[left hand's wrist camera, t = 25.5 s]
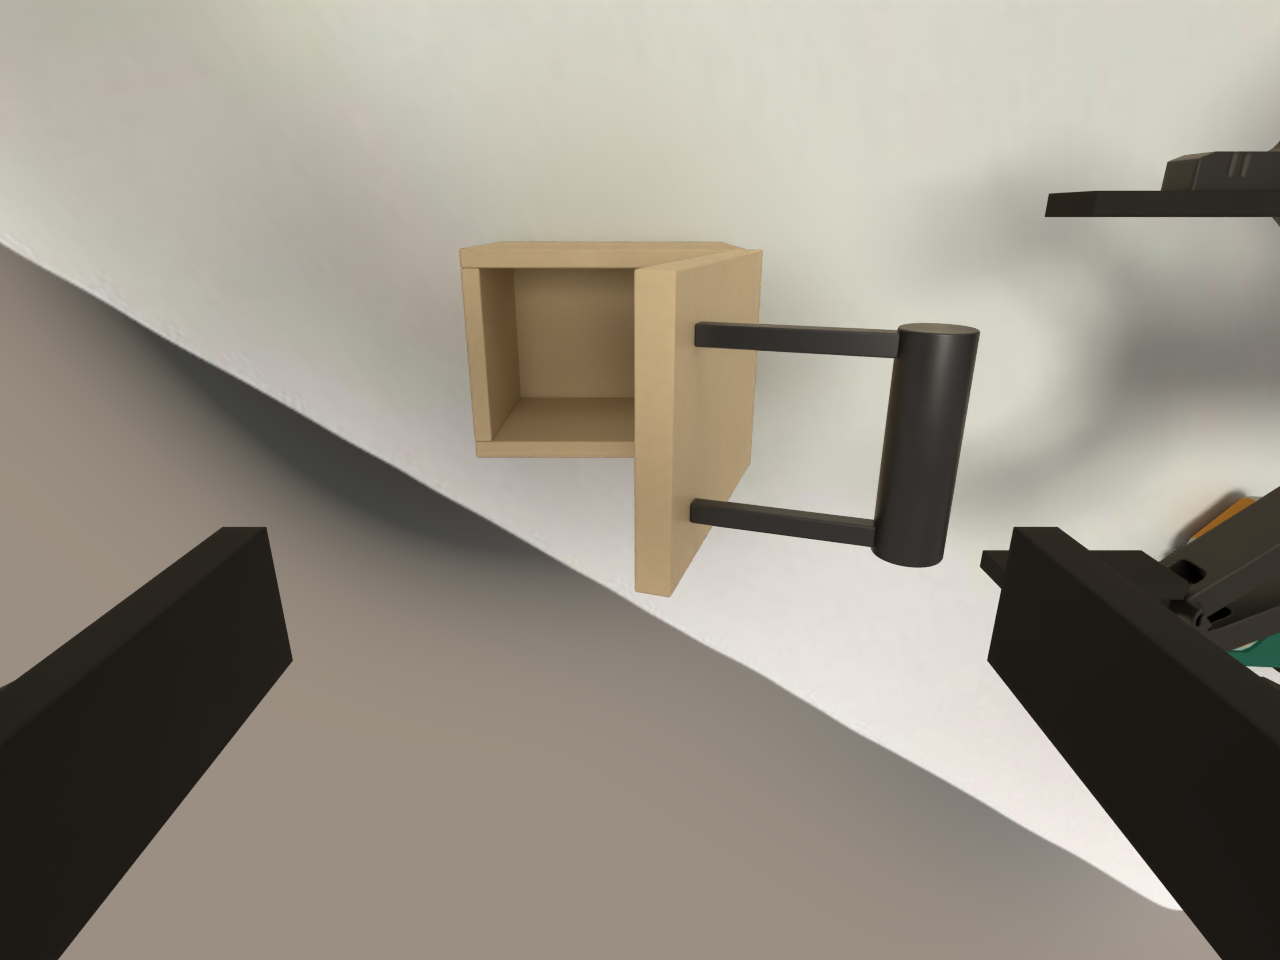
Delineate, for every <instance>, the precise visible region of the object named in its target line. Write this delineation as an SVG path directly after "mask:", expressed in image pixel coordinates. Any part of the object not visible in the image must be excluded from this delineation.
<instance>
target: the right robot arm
mask: <svg viewBox="0 0 1280 960" xmlns="http://www.w3.org/2000/svg"><path fill="white" fill-rule="evenodd" d="M1045 217H1272V218H1273V219H1274V220H1275V221H1276V222H1277V224H1278V225H1279V226H1280V141H1279V143H1278V144H1277V145H1276V146H1275V147H1274V148H1273V149H1271V150H1269V151H1268V152H1209V153H1200V154H1191V155H1184V156H1181V157H1179V158H1176V159H1174V160H1171V161H1169V162H1167V167H1166V171H1165V175H1164V179H1163V184H1162V188H1161V191H1086V192H1069V193H1053V194H1049V196H1048V202H1047V207H1046V213H1045ZM1089 551H1091V552H1092V553H1093V554H1095V555H1096V556H1097V557H1099V558H1100V559H1101V560H1103V561H1104V562H1105V563H1107V564H1108V565H1109V566H1111V567H1112V568H1114V569H1115V570H1116V571H1118V572H1119V573H1120V574H1122V575H1123V576H1124V577H1126V578H1127V579H1128V580H1130V581H1131V582H1132V583H1134V584H1135V585H1137V586H1138V587H1139V588H1141V589H1142V590H1143V591H1145V592H1146V593H1147V594H1149V595H1150V596H1151V597H1153V598H1154V599H1155V600H1157V601H1158V602H1160V603H1161V604H1162V605H1164V606H1165V607H1166V608H1168V609H1169V610H1170V611H1172V612H1173V613H1174V614H1176V615H1177V616H1178V617H1180V618H1181V619H1182V620H1184V621H1185V622H1187V623H1188V624H1189V625H1191V626H1192V627H1193V628H1195V629H1196V630H1197V631H1199V632H1200V633H1201V634H1203V635H1204V636H1205V637H1207V638H1208V639H1210V640H1211V641H1212V642H1214V643H1215V644H1216V645H1218V646H1219V647H1220V648H1222V649H1223V650H1224V651H1226V652H1228V651H1231V650H1234V649H1237V648H1239V647H1242V646H1245V645H1247V644H1250V643H1253V642H1255V641H1258V640H1261V639H1263V638H1266V637H1269V636H1271V635H1274V634H1277V633H1279V632H1280V486H1279V487H1278V488H1276V489H1275V490H1273V491H1272V492H1270V493H1268V494H1267V495H1265V496H1264V497H1262V498H1260V499H1259V500H1257V501H1256V502H1254V503H1252V504H1251V505H1249V506H1248V507H1246V508H1244V509H1243V510H1241V511H1240V512H1238V513H1236V514H1235V515H1233V516H1232V517H1230V518H1228V519H1227V520H1225V521H1224V522H1222V523H1220V524H1219V525H1217V526H1216V527H1214V528H1212V529H1211V530H1209V531H1208V532H1206V533H1204V534H1203V535H1201V536H1200V537H1198V538H1196V539H1195V540H1193V541H1192V542H1190V543H1188V544H1187V545H1185V546H1184V547H1182V548H1181V549H1179V550H1177V551H1176V552H1174V553H1173V554H1171V555H1169V556H1168V557H1166V558H1165V559H1163V560H1161V561H1160V562H1158V561H1156V560H1155V559H1153V558H1152V557H1150V556H1149V555H1147V554H1146V553H1144V552H1143V551H1141V550H1089ZM1008 553H1009V550H983V553H982V558H981V564H980V567H981V568H982V569H983V570H984V571H985V572H986V574H987V575H988V576H989V577H990V578H991V579H992V580H993V581H994V582H995V583H996V584H997V585H998V586H999V587H1000V588H1001V589H1002V584H1003V579H1004V574H1005V569H1006V564H1007V559H1008ZM1188 585H1192V586H1191V587H1188Z"/></svg>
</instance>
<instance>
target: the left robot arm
mask: <svg viewBox="0 0 1280 960" xmlns="http://www.w3.org/2000/svg"><path fill="white" fill-rule="evenodd" d="M292 661H293V659H292V654H291V649H290V644H289V639H288V634H287V629H286V624H285V619H284V614H283V609H282V604H281V599H280V594H279V589H278V584H277V579H276V574H275V569H274V564H273V559H272V554H271V548H270V544H269V538H268V533H267V528H266V527H222V528H221V529H219V530H218V531H217V532H215V533H214V534H213V535H211V536H210V537H208V538H207V539H206V540H204V541H203V542H202V543H200V544H199V545H198V546H196V547H195V548H194V549H192V550H191V551H189V552H188V553H187V554H185V555H184V556H183V557H181V558H180V559H179V560H177V561H176V562H175V563H173V564H172V565H171V566H169V567H168V568H166V569H165V570H164V571H162V572H161V573H160V574H158V575H157V576H156V577H154V578H153V579H152V580H150V581H149V582H148V583H146V584H145V585H143V586H142V587H141V588H139V589H138V590H137V591H135V592H134V593H133V594H131V595H130V596H129V597H127V598H126V599H125V600H123V601H122V602H121V603H119V604H118V605H116V606H115V607H114V608H112V609H111V610H110V611H108V612H107V613H106V614H104V615H103V616H102V617H100V618H99V619H98V620H96V621H95V622H94V623H92V624H91V625H89V626H88V627H87V628H85V629H84V630H83V631H81V632H80V633H79V634H77V635H76V636H75V637H73V638H72V639H70V640H69V641H68V642H66V643H65V644H64V645H62V646H61V647H60V648H58V649H57V650H56V651H54V652H53V653H52V654H50V655H49V656H47V657H46V658H45V659H43V660H42V661H41V662H39V663H38V664H37V665H35V666H34V667H33V668H31V669H30V670H29V671H27V672H26V673H24V674H23V675H22V676H20V677H19V678H18V679H16V680H15V681H13V682H11V683H9V684H7V685H5V686H3V687H1V688H0V960H58V959H59V958H60V956H61V955H62V954H63V953H64V951H65V950H66V949H67V947H68V946H69V945H70V944H71V942H72V941H73V940H74V938H75V937H76V936H77V935H78V933H79V932H80V931H81V930H82V928H83V927H84V926H85V924H86V923H87V922H88V921H89V919H90V918H91V917H92V916H93V914H94V913H95V912H96V911H97V909H98V908H99V907H100V905H101V904H102V903H103V902H104V900H105V899H106V898H107V896H108V895H109V894H110V893H111V891H112V890H113V889H114V888H115V886H116V885H117V884H118V882H119V881H120V880H121V879H122V877H123V876H124V875H125V873H126V872H127V871H128V870H129V868H130V867H131V866H132V865H133V863H134V862H135V861H136V860H137V858H138V857H139V856H140V854H141V853H142V852H143V851H144V849H145V848H146V847H147V846H148V844H149V843H150V842H151V840H152V839H153V838H154V837H155V835H156V834H157V833H158V832H159V830H160V829H161V828H162V826H163V825H164V824H165V823H166V821H167V820H168V819H169V818H170V816H171V815H172V814H173V812H174V811H175V810H176V809H177V807H178V806H179V805H180V803H181V802H182V801H183V800H184V798H185V797H186V796H187V795H188V793H189V792H190V791H191V789H192V788H193V787H194V786H195V784H196V783H197V782H198V781H199V779H200V778H201V777H202V776H203V774H204V773H205V772H206V770H207V769H208V768H209V767H210V765H211V764H212V763H213V762H214V760H215V759H216V758H217V756H218V755H219V754H220V753H221V751H222V750H223V749H224V747H225V746H226V745H227V744H228V742H229V741H230V740H231V739H232V737H233V736H234V735H235V733H236V732H237V731H238V730H239V728H240V727H241V726H242V725H243V723H244V722H245V721H246V719H247V718H248V717H249V716H250V714H251V713H252V712H253V711H254V709H255V708H256V707H257V705H258V704H259V703H260V702H261V700H262V699H263V698H264V696H265V695H266V694H267V693H268V691H269V690H270V689H271V688H272V686H273V685H274V684H275V683H276V681H277V680H278V679H279V677H280V676H281V675H282V674H283V672H284V671H285V670H286V669H287V667H288V666H289V665H290V663H291V662H292ZM987 661H988V662H989V663H990V665H991V666H992V667H993V669H994V670H995V671H996V672H997V674H998V675H999V676H1000V677H1001V679H1002V680H1003V681H1004V683H1005V684H1006V685H1007V686H1008V688H1009V689H1010V690H1011V691H1012V693H1013V694H1014V695H1015V697H1016V698H1017V699H1018V700H1019V702H1020V703H1021V704H1022V705H1023V707H1024V708H1025V709H1026V711H1027V712H1028V713H1029V714H1030V716H1031V717H1032V718H1033V719H1034V721H1035V722H1036V723H1037V725H1038V726H1039V727H1040V728H1041V730H1042V731H1043V732H1044V733H1045V735H1046V736H1047V737H1048V739H1049V740H1050V741H1051V742H1052V744H1053V745H1054V746H1055V747H1056V749H1057V750H1058V751H1059V753H1060V754H1061V755H1062V756H1063V758H1064V759H1065V760H1066V762H1067V763H1068V764H1069V765H1070V767H1071V768H1072V769H1073V770H1074V772H1075V773H1076V774H1077V776H1078V777H1079V778H1080V779H1081V781H1082V782H1083V783H1084V784H1085V786H1086V787H1087V788H1088V790H1089V791H1090V792H1091V793H1092V795H1093V796H1094V797H1095V798H1096V800H1097V801H1098V802H1099V804H1100V805H1101V806H1102V807H1103V809H1104V810H1105V811H1106V812H1107V814H1108V815H1109V816H1110V818H1111V819H1112V820H1113V821H1114V823H1115V824H1116V825H1117V826H1118V828H1119V829H1120V830H1121V832H1122V833H1123V834H1124V835H1125V837H1126V838H1127V839H1128V840H1129V842H1130V843H1131V844H1132V846H1133V847H1134V848H1135V849H1136V851H1137V852H1138V853H1139V854H1140V856H1141V857H1142V858H1143V860H1144V861H1145V862H1146V863H1147V865H1148V866H1149V867H1150V868H1151V870H1152V871H1153V872H1154V874H1155V875H1156V876H1157V877H1158V879H1159V880H1160V881H1161V883H1162V884H1163V885H1164V886H1165V888H1166V889H1167V890H1168V891H1169V893H1170V894H1171V895H1172V897H1173V898H1174V899H1175V900H1176V902H1177V903H1178V904H1179V905H1180V907H1181V908H1182V909H1183V911H1184V912H1185V913H1186V914H1187V916H1188V917H1189V918H1190V919H1191V921H1192V922H1193V923H1194V925H1195V926H1196V927H1197V928H1198V930H1199V931H1200V932H1201V933H1202V935H1203V936H1204V937H1205V939H1206V940H1207V941H1208V942H1209V944H1210V945H1211V946H1212V947H1213V949H1214V950H1215V951H1216V953H1217V954H1218V955H1219V956H1220V958H1221V959H1222V960H1280V685H1279V684H1277V683H1275V682H1273V681H1271V680H1269V679H1267V678H1265V677H1260V676H1258V675H1257V674H1256V673H1254V672H1253V671H1251V670H1250V669H1249V668H1247V667H1246V666H1245V665H1243V664H1242V663H1241V662H1239V661H1238V660H1237V659H1235V658H1234V657H1233V656H1231V655H1230V654H1228V653H1227V652H1226V651H1224V650H1223V649H1222V648H1220V647H1219V646H1218V645H1216V644H1215V643H1214V642H1212V641H1211V640H1210V639H1208V638H1207V637H1205V636H1204V635H1203V634H1201V633H1200V632H1199V631H1197V630H1196V629H1195V628H1193V627H1192V626H1191V625H1189V624H1188V623H1187V622H1185V621H1184V620H1182V619H1181V618H1180V617H1178V616H1177V615H1176V614H1174V613H1173V612H1172V611H1170V610H1169V609H1168V608H1166V607H1165V606H1164V605H1162V604H1161V603H1160V602H1158V601H1157V600H1155V599H1154V598H1153V597H1151V596H1150V595H1149V594H1147V593H1146V592H1145V591H1143V590H1142V589H1141V588H1139V587H1138V586H1137V585H1135V584H1134V583H1132V582H1131V581H1130V580H1128V579H1127V578H1126V577H1124V576H1123V575H1122V574H1120V573H1119V572H1118V571H1116V570H1115V569H1114V568H1112V567H1111V566H1109V565H1108V564H1107V563H1105V562H1104V561H1103V560H1101V559H1100V558H1099V557H1097V556H1096V555H1095V554H1093V553H1092V552H1091V551H1089V550H1088V549H1086V548H1085V547H1084V546H1082V545H1081V544H1080V543H1078V542H1077V541H1076V540H1074V539H1073V538H1072V537H1070V536H1069V535H1068V534H1066V533H1065V532H1064V531H1062V530H1061V529H1059V528H1058V527H1014V528H1013V533H1012V538H1011V543H1010V548H1009V553H1008V559H1007V564H1006V569H1005V574H1004V579H1003V584H1002V589H1001V594H1000V599H999V604H998V609H997V614H996V619H995V624H994V629H993V634H992V639H991V644H990V649H989V654H988V659H987Z"/></svg>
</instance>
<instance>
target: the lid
mask: <svg viewBox="0 0 1280 960" xmlns="http://www.w3.org/2000/svg"><path fill="white" fill-rule="evenodd" d="M762 253H763V251H762V250H738V249H737V250H732V251H727V252H722V253H717V254H711V255H706V256H701V257H696V258H691V259H686V260H681V261H676V262H670V263H665V264H660V265H655V266H650V267H645V268H640V269H636V270H635V271H634V386H635V591H636V592H640V593H646V594H652V595H658V596H664V597H670V596H671V595H672V593H673V591H674V590H675V588H676V586H677V585H678V583H679V581H680V580H681V578H682V576H683V575H684V573H685V571H686V570H687V568H688V566H689V565H690V563H691V561H692V560H693V558H694V556H695V555H696V553H697V551H698V549H699V548H700V546H701V544H702V543H703V541H704V539H705V538H706V536H707V534H708V533H709V531H710V529H711V528H712V526H718V527H726V528H733V529H741V530H748V531H756V532H763V533H770V534H778V535H785V536H793V537H800V538H808V539H815V540H823V541H830V542H837V543H845V544H852V545H860V546H867V547H871V550H872V552H873V553H874V554H875V555H876V556H877V557H879V558H880V559H882V560H884V561H887V562H889V563H892V564H896V565H900V566H906V567H930V566H934V565H936V564H938V563H940V562H941V560H942V559H943V554H944V548H945V542H946V536H947V530H948V524H949V518H950V512H951V505H952V499H953V493H954V487H955V481H956V475H957V469H958V463H959V457H960V451H961V445H962V439H963V433H964V427H965V421H966V415H967V408H968V402H969V396H970V390H971V384H972V378H973V372H974V366H975V360H976V354H977V348H978V342H979V336H980V331H979V330H978V329H975V328H972V327H968V326H961V325H952V324H938V323H913V324H904V325H901V326H899V327H898V330H880V329H858V328H836V327H814V326H792V325H770V324H758V323H759V305H760V288H761V271H762ZM757 350H759V351H776V352H794V353H811V354H829V355H847V356H864V357H882V358H894V364H893V372H892V380H891V388H890V396H889V404H888V412H887V420H886V428H885V436H884V444H883V452H882V460H881V468H880V476H879V484H878V492H877V500H876V508H875V516H874V520H871V519H863V518H855V517H846V516H838V515H830V514H822V513H814V512H806V511H798V510H790V509H781V508H773V507H765V506H757V505H749V504H741V503H733V502H727V501H728V499H729V498H730V496H731V494H732V493H733V491H734V489H735V488H736V486H737V484H738V483H739V481H740V479H741V478H742V476H743V474H744V473H745V471H746V469H747V468H748V466H749V464H750V461H751V444H752V427H753V409H754V392H755V375H756V357H757Z"/></svg>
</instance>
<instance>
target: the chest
mask: <svg viewBox="0 0 1280 960" xmlns="http://www.w3.org/2000/svg"><path fill="white" fill-rule="evenodd" d="M737 249H738V250H746V249H743V248H740V247H737V246H733V245H730V244H726V243H723V242H498V243H492V244H486V245H480V246H474V247H468V248H463V249H460V251H459V252H460V264H461V268H462V269H461V277H462V290H463V302H464V314H465V326H466V338H467V350H468V362H469V374H470V386H471V398H472V410H473V422H474V434H475V441H476V442H475V445H476V456H477V457H635V386H634V271H635V270H636V269H640V268H645V267H650V266H655V265H660V264H665V263H670V262H676V261H681V260H686V259H691V258H696V257H701V256H706V255H711V254H717V253H722V252H727V251H732V250H737Z"/></svg>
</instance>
